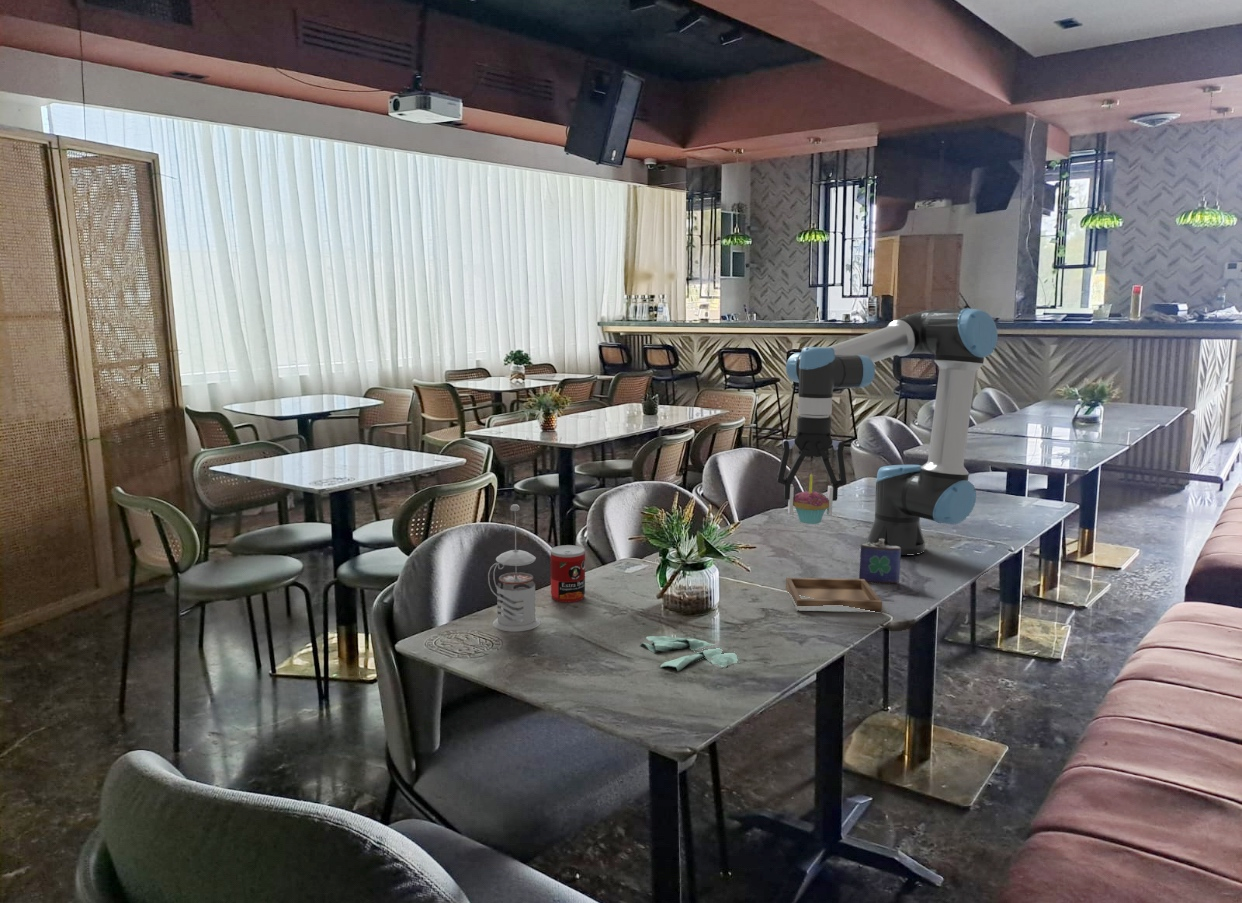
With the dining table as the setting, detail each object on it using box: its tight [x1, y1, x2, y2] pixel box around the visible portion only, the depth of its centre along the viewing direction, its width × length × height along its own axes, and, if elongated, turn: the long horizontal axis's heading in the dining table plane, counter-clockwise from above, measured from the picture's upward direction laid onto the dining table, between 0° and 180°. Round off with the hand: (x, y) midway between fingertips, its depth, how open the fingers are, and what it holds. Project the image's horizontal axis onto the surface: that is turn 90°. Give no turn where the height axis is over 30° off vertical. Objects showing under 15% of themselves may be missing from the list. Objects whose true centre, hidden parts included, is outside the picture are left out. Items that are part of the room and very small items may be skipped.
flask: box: [858, 538, 902, 585], centre depth 207 cm, size 9×3×11 cm, turn 74°
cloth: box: [639, 635, 738, 672], centre depth 163 cm, size 20×22×2 cm
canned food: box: [550, 544, 586, 603], centre depth 195 cm, size 8×8×11 cm
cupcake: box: [793, 471, 829, 525], centre depth 199 cm, size 9×8×12 cm
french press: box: [487, 503, 541, 632], centre depth 177 cm, size 10×12×25 cm
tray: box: [785, 577, 883, 613], centre depth 194 cm, size 18×16×2 cm
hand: (809, 513), depth 200 cm, fingers closed on cupcake, 8 cm apart
